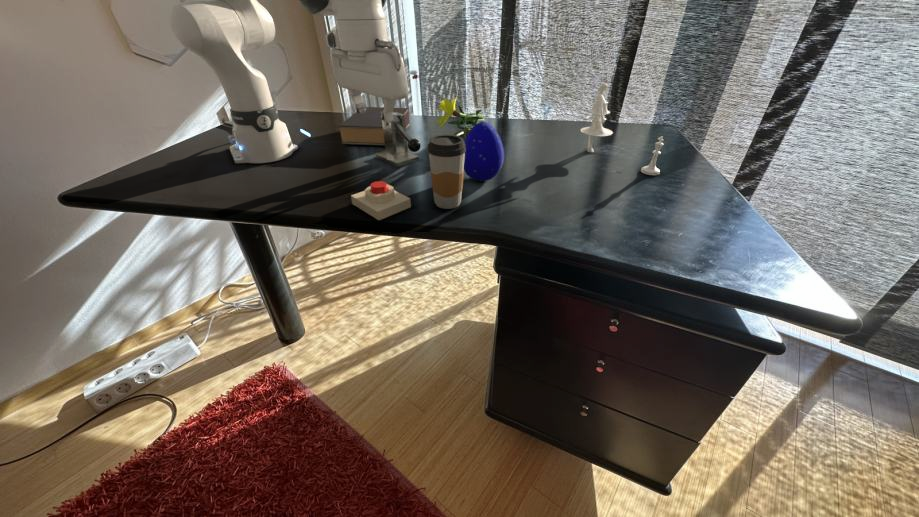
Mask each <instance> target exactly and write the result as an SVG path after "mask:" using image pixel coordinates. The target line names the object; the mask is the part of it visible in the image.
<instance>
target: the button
mask: <svg viewBox="0 0 919 517" xmlns="http://www.w3.org/2000/svg"><path fill="white" fill-rule="evenodd" d="M387 185H388V183H387V182H386V181H382V180H380V181H379V180H378V181H374V182H373V181H372V182H371V183H370V186H371V192H372V193H373V194H383V193H386V192H387Z"/></svg>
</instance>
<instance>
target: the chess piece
mask: <svg viewBox="0 0 919 517" xmlns="http://www.w3.org/2000/svg"><path fill="white" fill-rule="evenodd" d="M663 138H664V136H663V135H660V136H659V137H658V138H657V140H658V142H657V141H656V142H655V143H654V150H652V151H651V153H652V154H653V155H652V158H651V160H650V162H649V164H648V165H646V166H642V167H641V168H640V172H641V173H642V174H643V175H648V176H659V175H660V174H661V170H660V169H659V168H657V161H658V160H657V159H658V155H661V151H660V150H661V149H662V147H663V146H664V143H663V142H665V139H663Z"/></svg>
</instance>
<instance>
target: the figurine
mask: <svg viewBox="0 0 919 517" xmlns="http://www.w3.org/2000/svg"><path fill="white" fill-rule="evenodd" d="M608 87H609V85H608V84H607V83H606V82H601V83H600V85H599V87H598V89H597V92H598V93H597V94H596V96H595V101H592V104H593V106H592V108H591V109H590V110H587V111H588V113H589V114H592V115H587V116H586V119H588V120H590V121H591V124H590V126H586V127H585V126H584V127H582V128H580V132H581V133H583V134H585V135H588V143H587V145H586V151H587V153H593V154H594V153H595V150H594V148H593V142H594V138H595V137H609V136H612V135H613V134H614V132H613V131H612V130H611V129H609V128H605V127H604V126H603V122H605V121H606V120H607V118H606V117H605V116H604V115H609V114H611V111H610V110H608V106H607V104H609V102H608V101H606V99H605V97H604V93H607V91H608V89H609V88H608Z"/></svg>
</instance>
